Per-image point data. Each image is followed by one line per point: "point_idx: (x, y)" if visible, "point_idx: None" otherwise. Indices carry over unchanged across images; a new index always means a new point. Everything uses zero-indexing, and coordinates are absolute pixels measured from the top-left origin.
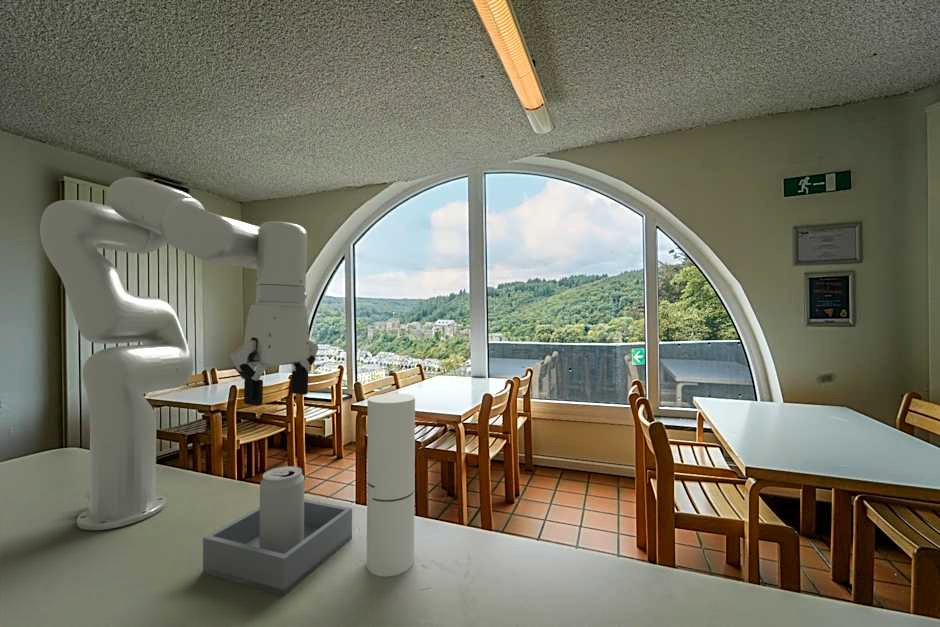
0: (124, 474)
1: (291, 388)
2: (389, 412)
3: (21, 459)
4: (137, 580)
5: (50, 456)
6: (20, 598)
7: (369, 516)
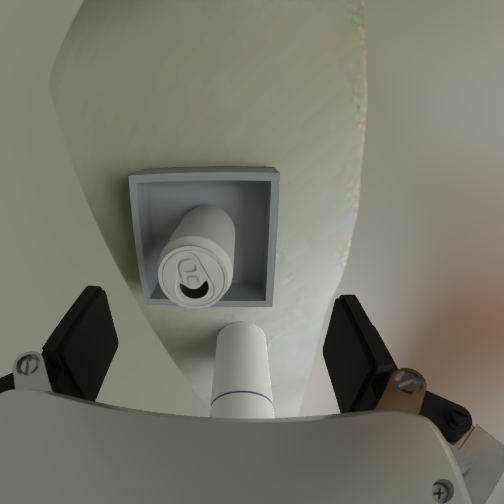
0: None
1: (342, 306)
2: None
3: None
4: (109, 115)
5: None
6: (64, 51)
7: (216, 371)
